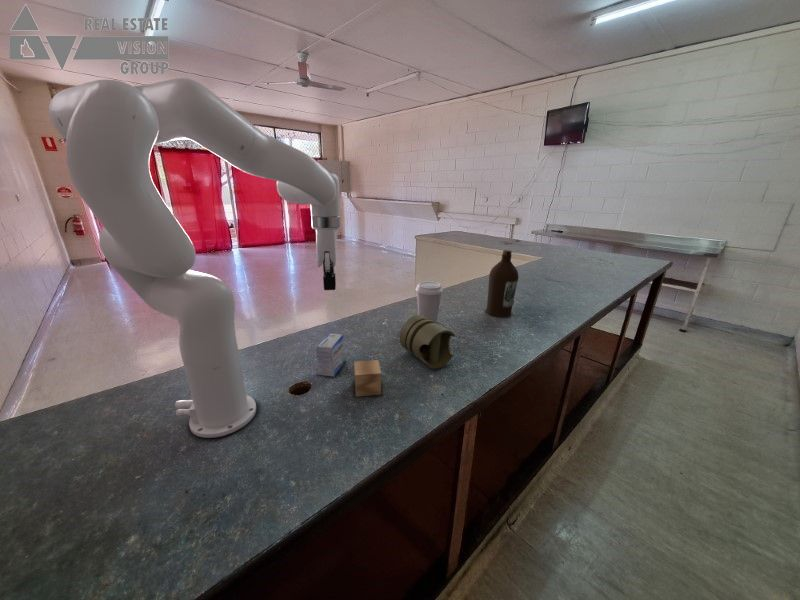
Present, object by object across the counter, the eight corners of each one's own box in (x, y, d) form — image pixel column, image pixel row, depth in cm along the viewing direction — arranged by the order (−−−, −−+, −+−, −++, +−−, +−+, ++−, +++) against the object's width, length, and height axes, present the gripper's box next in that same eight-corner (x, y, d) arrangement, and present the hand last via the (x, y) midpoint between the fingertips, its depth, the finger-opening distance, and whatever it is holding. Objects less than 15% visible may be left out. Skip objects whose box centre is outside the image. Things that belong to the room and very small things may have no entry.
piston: (423, 373, 85) (425, 336, 81) (399, 354, 94) (400, 319, 90) (454, 362, 90) (458, 326, 87) (428, 344, 100) (431, 311, 96)
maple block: (355, 396, 75) (355, 375, 73) (354, 381, 80) (354, 361, 78) (380, 394, 76) (381, 373, 74) (378, 380, 81) (378, 359, 79)
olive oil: (479, 311, 127) (486, 249, 118) (496, 306, 133) (504, 247, 124) (501, 320, 119) (510, 255, 110) (517, 314, 125) (528, 252, 116)
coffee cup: (411, 327, 111) (413, 287, 106) (416, 317, 120) (418, 279, 114) (438, 331, 109) (441, 290, 104) (441, 320, 118) (444, 281, 112)
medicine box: (333, 377, 82) (332, 348, 79) (317, 375, 83) (315, 346, 80) (344, 361, 89) (343, 334, 86) (330, 359, 90) (328, 332, 87)
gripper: (314, 219, 91) (318, 280, 97) (308, 226, 76) (314, 298, 82) (340, 219, 92) (343, 279, 98) (340, 226, 77) (343, 297, 84)
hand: (330, 287), depth 90 cm, fingers closed
